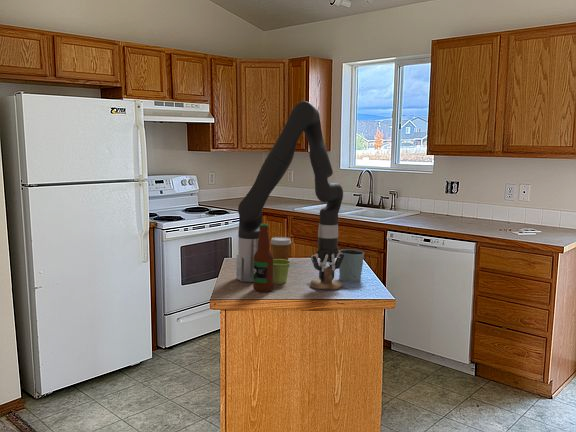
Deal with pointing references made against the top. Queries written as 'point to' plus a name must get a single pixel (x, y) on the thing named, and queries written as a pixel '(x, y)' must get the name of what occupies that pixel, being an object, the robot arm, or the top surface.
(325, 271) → the lid
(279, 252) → the disposable coffee cup
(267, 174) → the robot arm
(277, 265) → the plant pot
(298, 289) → the top surface
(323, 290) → the mat
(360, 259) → the grey green tapered cylinder
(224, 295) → the top surface
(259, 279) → the bottle
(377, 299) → the top surface
